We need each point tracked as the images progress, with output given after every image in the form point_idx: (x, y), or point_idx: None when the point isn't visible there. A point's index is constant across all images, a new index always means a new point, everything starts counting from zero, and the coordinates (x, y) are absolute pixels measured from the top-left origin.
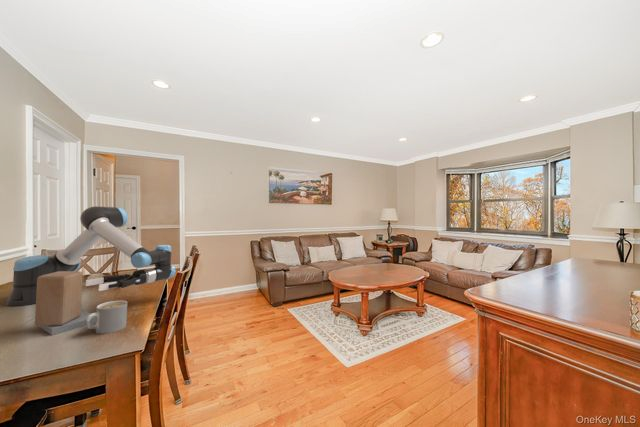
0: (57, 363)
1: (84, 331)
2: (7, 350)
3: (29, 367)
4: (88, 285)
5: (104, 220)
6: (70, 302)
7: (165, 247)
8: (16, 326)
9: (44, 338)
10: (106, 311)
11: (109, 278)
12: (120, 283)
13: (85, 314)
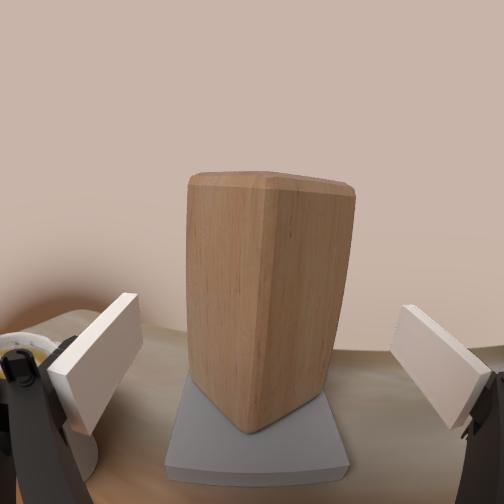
0: (40, 329)
1: (122, 419)
2: (187, 333)
3: (74, 320)
4: (397, 356)
5: None
6: (201, 324)
7: None
8: (360, 360)
9: (186, 370)
10: (6, 345)
11: (489, 431)
12: (8, 384)
13: (262, 456)
